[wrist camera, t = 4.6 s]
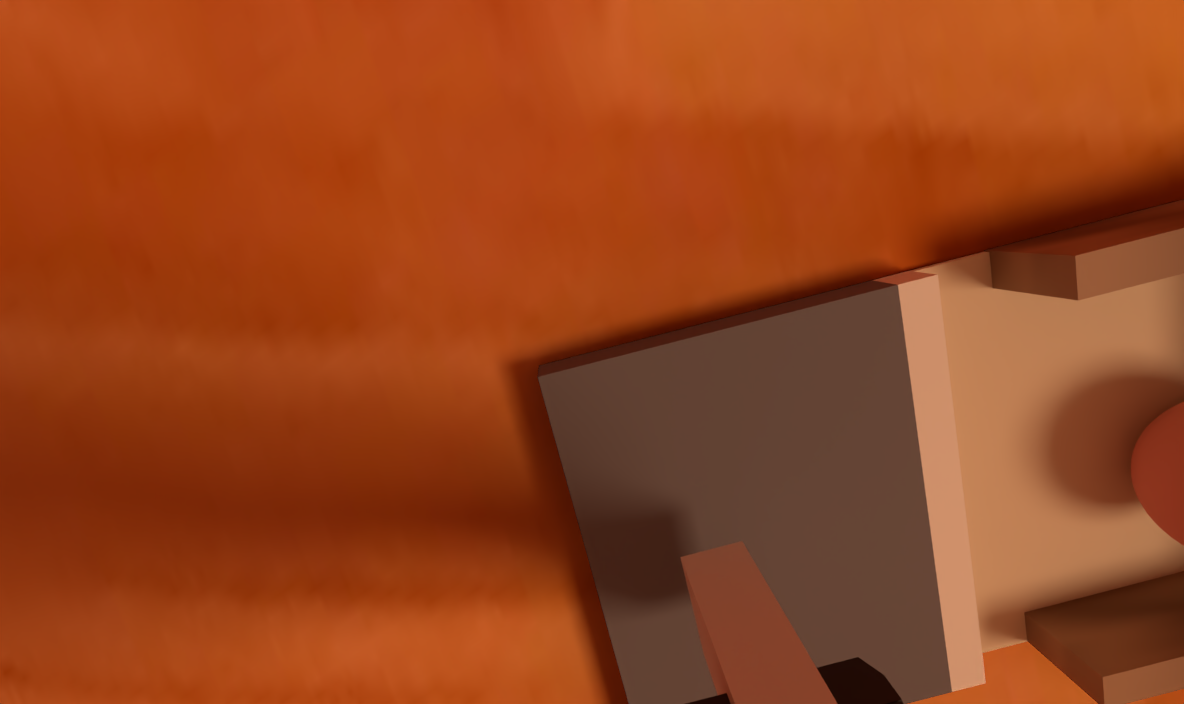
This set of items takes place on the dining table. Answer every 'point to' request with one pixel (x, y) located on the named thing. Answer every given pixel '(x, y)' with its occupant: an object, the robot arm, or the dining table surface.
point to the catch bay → (1143, 610)
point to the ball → (1162, 471)
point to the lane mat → (872, 468)
